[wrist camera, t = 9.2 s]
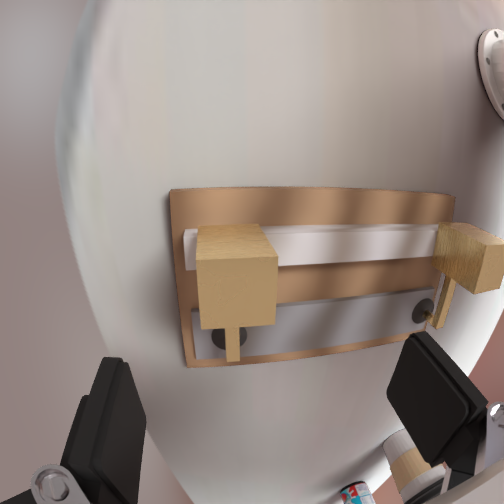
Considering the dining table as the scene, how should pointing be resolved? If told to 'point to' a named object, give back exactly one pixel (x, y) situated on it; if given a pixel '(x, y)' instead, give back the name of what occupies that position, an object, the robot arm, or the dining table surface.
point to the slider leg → (235, 280)
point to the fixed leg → (465, 263)
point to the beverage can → (357, 494)
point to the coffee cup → (412, 470)
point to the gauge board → (317, 267)
